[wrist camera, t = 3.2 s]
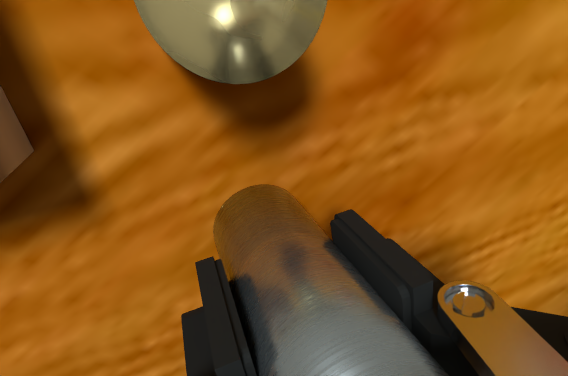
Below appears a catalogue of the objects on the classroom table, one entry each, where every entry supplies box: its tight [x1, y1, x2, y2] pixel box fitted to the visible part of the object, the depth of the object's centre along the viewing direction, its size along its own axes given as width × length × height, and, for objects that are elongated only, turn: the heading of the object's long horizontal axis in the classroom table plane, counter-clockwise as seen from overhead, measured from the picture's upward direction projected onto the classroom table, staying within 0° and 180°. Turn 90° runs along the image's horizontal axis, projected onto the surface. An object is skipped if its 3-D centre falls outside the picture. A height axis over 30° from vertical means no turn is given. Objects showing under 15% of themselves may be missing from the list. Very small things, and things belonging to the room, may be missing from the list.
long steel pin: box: [213, 185, 449, 376], centre depth 10 cm, size 4×4×10 cm
